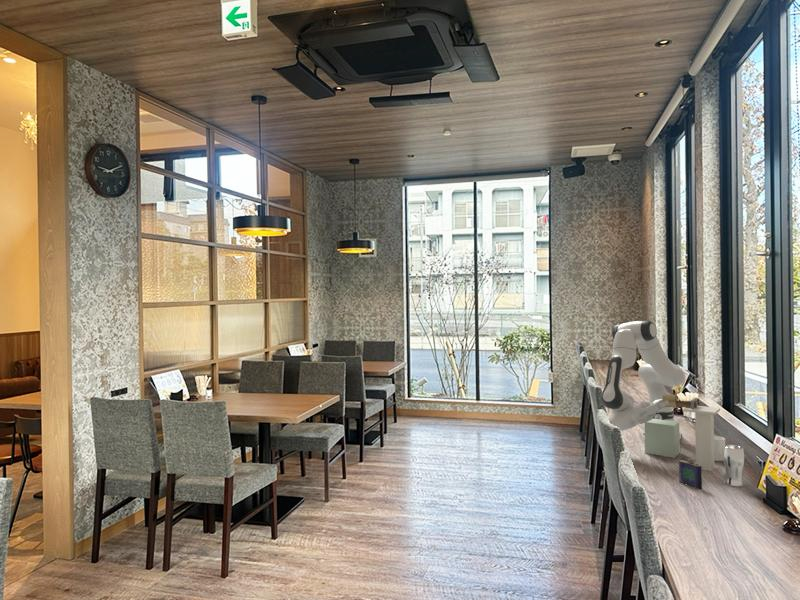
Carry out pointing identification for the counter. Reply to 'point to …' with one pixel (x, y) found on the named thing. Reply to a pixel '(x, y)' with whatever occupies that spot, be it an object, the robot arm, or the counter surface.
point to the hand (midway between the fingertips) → (671, 400)
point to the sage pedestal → (662, 438)
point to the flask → (690, 473)
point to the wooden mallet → (676, 401)
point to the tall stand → (704, 434)
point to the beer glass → (733, 464)
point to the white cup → (719, 448)
